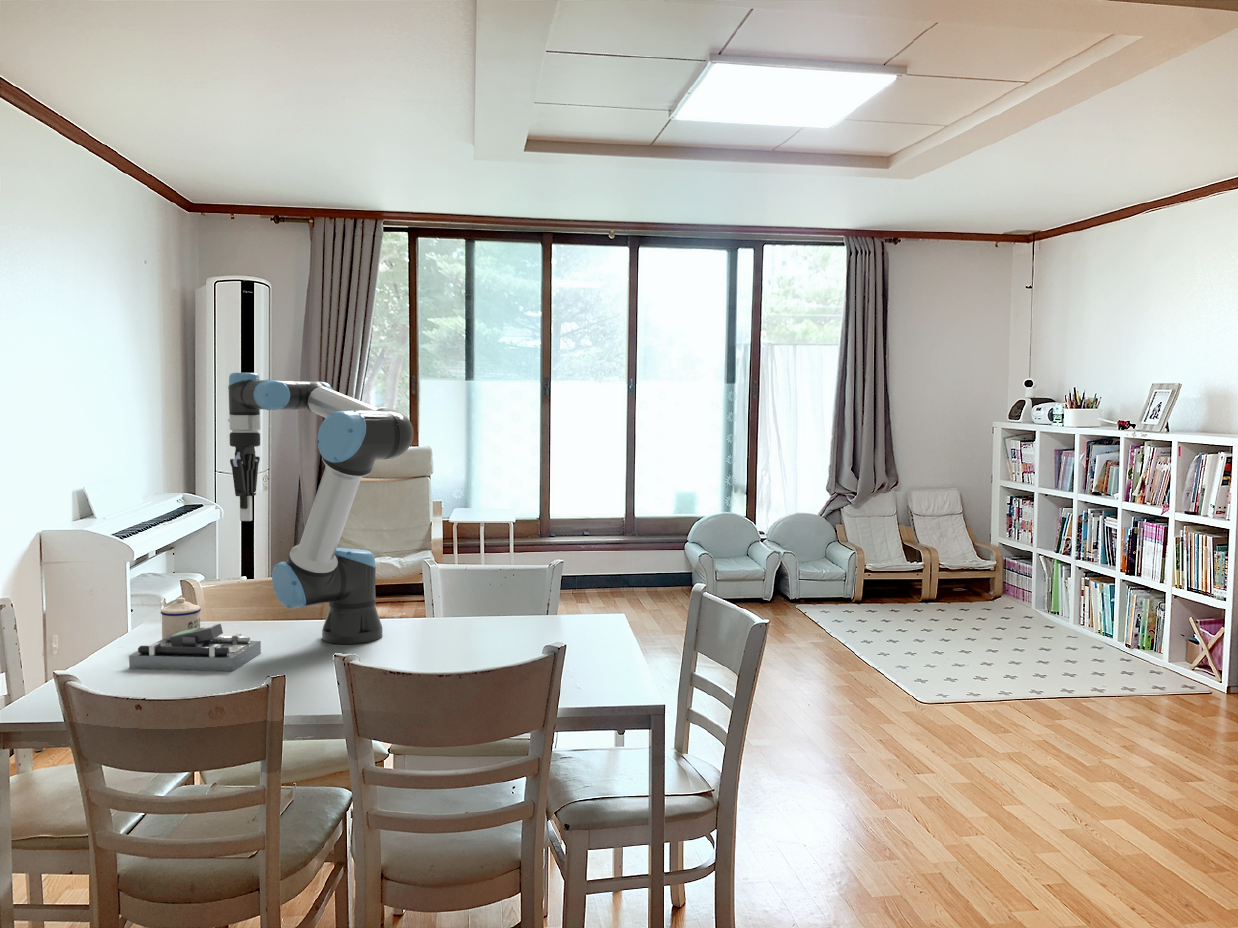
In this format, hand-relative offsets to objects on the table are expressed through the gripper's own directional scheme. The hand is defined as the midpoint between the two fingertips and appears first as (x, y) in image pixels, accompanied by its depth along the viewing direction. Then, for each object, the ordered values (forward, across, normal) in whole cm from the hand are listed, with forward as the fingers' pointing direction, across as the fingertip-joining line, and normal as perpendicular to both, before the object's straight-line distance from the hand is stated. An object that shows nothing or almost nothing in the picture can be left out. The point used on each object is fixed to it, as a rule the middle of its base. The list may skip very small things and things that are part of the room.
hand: (246, 520), depth 247 cm
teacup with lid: (+30, +14, -10) cm, 34 cm away
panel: (+29, +30, +1) cm, 42 cm away
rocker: (+25, +30, +1) cm, 38 cm away
